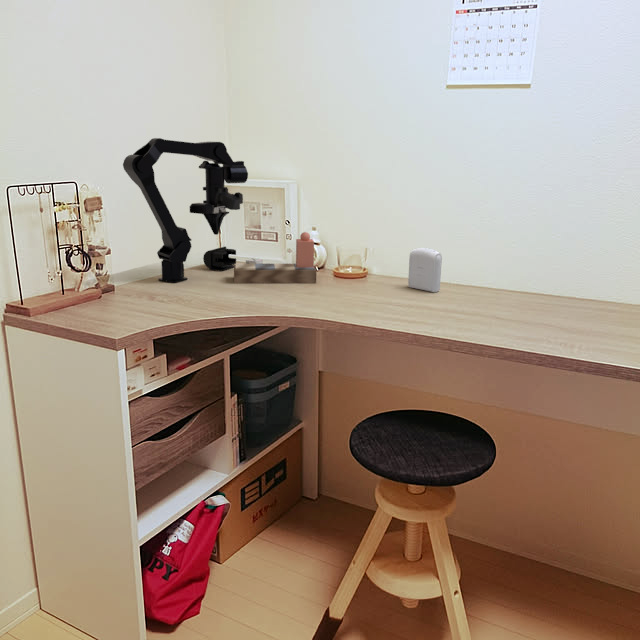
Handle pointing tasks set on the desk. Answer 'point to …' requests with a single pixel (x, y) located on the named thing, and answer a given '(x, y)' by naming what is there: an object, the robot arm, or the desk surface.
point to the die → (254, 261)
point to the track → (273, 273)
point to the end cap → (219, 259)
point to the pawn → (305, 251)
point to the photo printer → (425, 269)
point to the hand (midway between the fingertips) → (216, 234)
